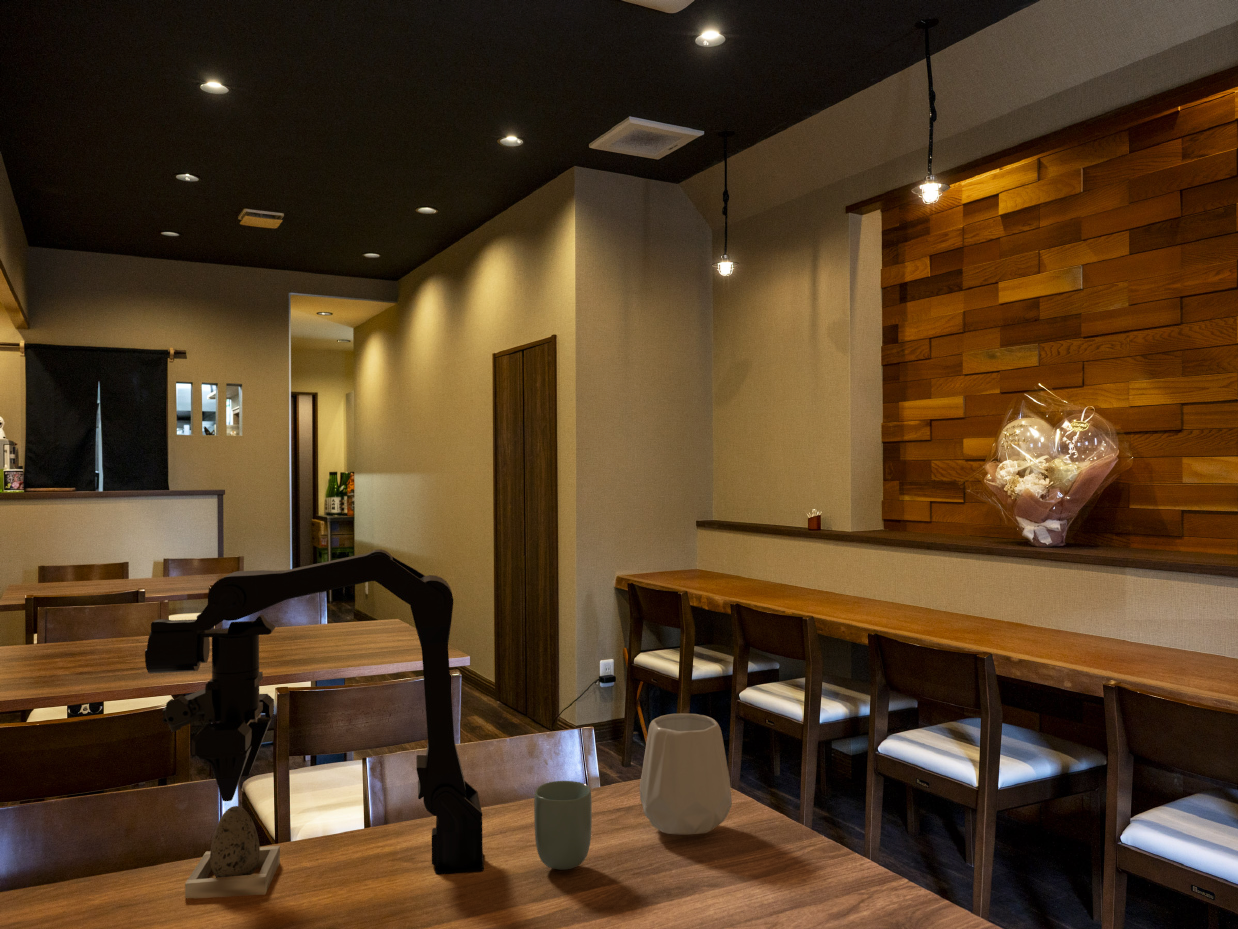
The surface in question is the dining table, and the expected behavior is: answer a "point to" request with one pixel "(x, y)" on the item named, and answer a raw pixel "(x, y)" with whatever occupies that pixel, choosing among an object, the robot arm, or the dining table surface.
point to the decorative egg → (234, 844)
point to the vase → (685, 775)
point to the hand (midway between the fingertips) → (236, 788)
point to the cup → (563, 823)
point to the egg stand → (233, 878)
